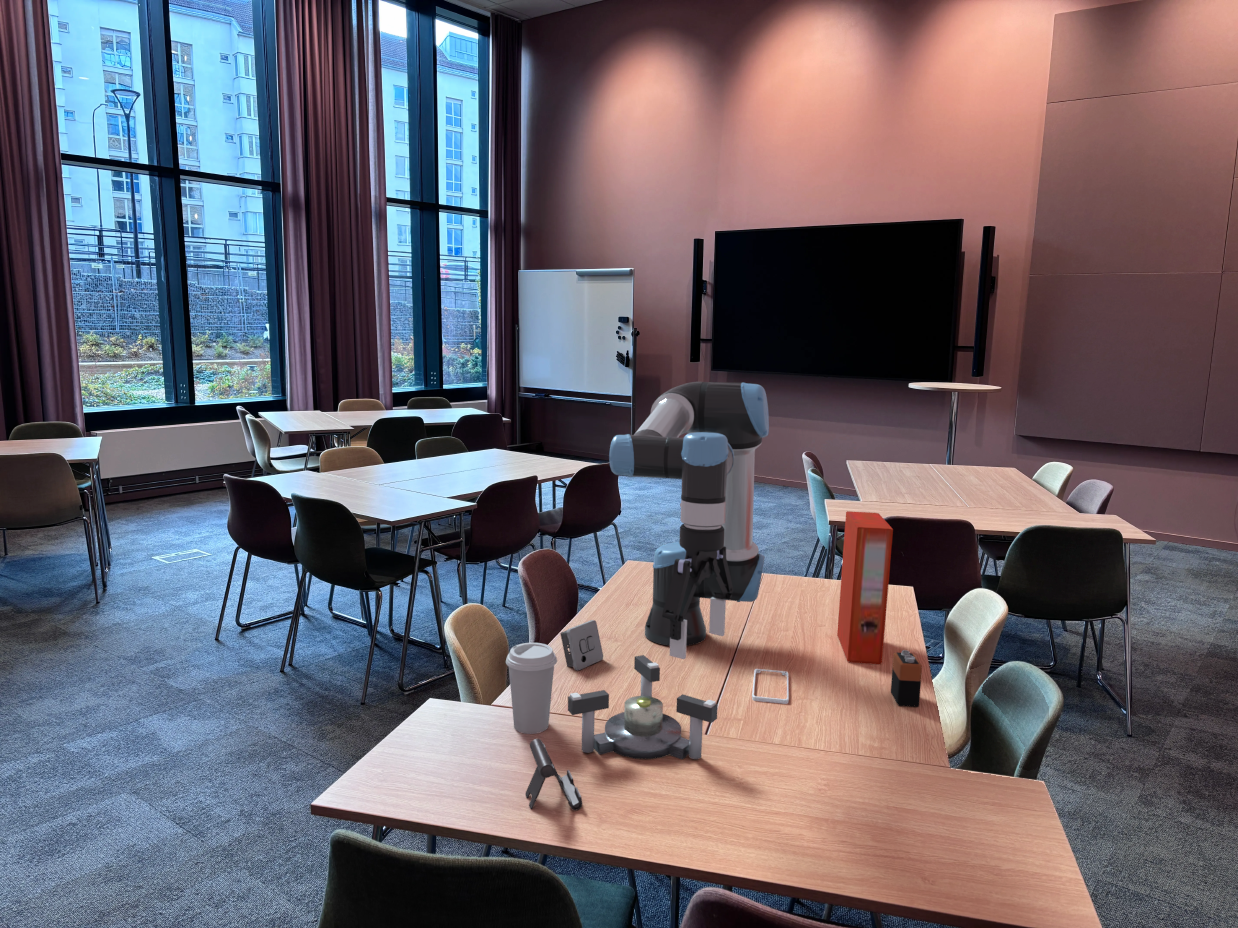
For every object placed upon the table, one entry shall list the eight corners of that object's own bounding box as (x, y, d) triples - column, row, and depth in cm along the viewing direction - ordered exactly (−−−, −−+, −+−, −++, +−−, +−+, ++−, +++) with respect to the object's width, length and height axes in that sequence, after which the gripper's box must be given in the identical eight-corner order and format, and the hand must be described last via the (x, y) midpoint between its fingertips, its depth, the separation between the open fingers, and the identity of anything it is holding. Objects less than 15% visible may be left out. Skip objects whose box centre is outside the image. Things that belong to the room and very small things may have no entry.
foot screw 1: (603, 742, 150) (604, 686, 148) (608, 748, 148) (609, 691, 146) (567, 750, 147) (567, 693, 145) (571, 756, 145) (572, 698, 143)
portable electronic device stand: (582, 810, 129) (583, 760, 128) (532, 817, 127) (533, 767, 126) (569, 781, 138) (570, 734, 137) (522, 787, 136) (522, 740, 134)
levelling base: (638, 711, 164) (639, 674, 162) (712, 735, 154) (713, 696, 153) (582, 748, 149) (582, 707, 148) (660, 777, 140) (661, 734, 138)
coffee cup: (535, 709, 164) (535, 637, 161) (566, 726, 157) (567, 650, 155) (495, 724, 157) (495, 649, 155) (527, 742, 150) (527, 664, 148)
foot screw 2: (632, 704, 166) (634, 654, 164) (642, 703, 167) (644, 652, 165) (648, 719, 159) (650, 666, 158) (659, 717, 160) (660, 665, 159)
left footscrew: (674, 752, 147) (676, 695, 145) (681, 747, 149) (682, 691, 147) (709, 764, 143) (711, 706, 142) (715, 759, 145) (717, 701, 143)
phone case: (788, 706, 169) (788, 677, 183) (788, 699, 168) (788, 671, 183) (751, 702, 170) (754, 674, 185) (752, 696, 170) (754, 668, 184)
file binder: (870, 637, 207) (878, 512, 202) (883, 664, 190) (893, 528, 185) (837, 635, 208) (844, 511, 203) (847, 662, 191) (855, 526, 186)
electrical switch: (577, 672, 182) (574, 631, 182) (559, 668, 186) (557, 627, 185) (604, 660, 190) (602, 620, 189) (587, 656, 193) (584, 617, 192)
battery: (897, 706, 168) (901, 659, 167) (889, 692, 175) (893, 647, 174) (919, 707, 168) (923, 660, 166) (911, 693, 175) (914, 648, 173)
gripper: (717, 510, 152) (713, 621, 155) (643, 534, 132) (639, 661, 135) (755, 515, 148) (749, 629, 151) (683, 541, 128) (679, 672, 131)
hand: (697, 645), depth 143 cm, fingers open, 13 cm apart
